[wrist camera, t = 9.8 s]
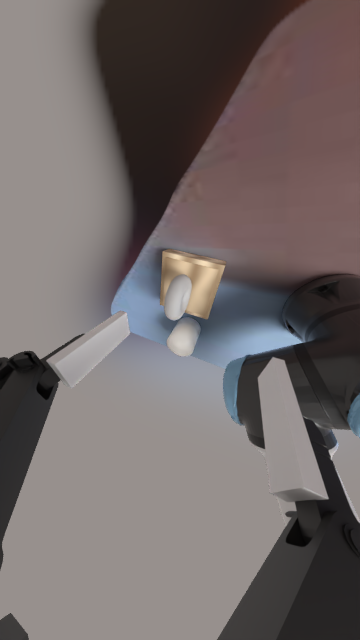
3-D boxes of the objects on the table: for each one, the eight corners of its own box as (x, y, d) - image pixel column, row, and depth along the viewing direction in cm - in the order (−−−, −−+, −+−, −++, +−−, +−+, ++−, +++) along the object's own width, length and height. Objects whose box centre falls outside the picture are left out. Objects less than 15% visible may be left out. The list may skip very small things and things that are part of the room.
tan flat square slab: (226, 261, 31) (224, 266, 28) (210, 312, 39) (207, 320, 36) (169, 248, 34) (162, 251, 30) (165, 298, 42) (159, 305, 39)
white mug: (203, 321, 42) (196, 341, 35) (196, 345, 49) (189, 365, 42) (179, 314, 44) (167, 331, 37) (175, 337, 50) (165, 356, 43)
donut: (182, 267, 31) (162, 281, 23) (196, 270, 30) (181, 286, 22) (176, 304, 37) (160, 326, 29) (188, 308, 36) (175, 331, 28)
